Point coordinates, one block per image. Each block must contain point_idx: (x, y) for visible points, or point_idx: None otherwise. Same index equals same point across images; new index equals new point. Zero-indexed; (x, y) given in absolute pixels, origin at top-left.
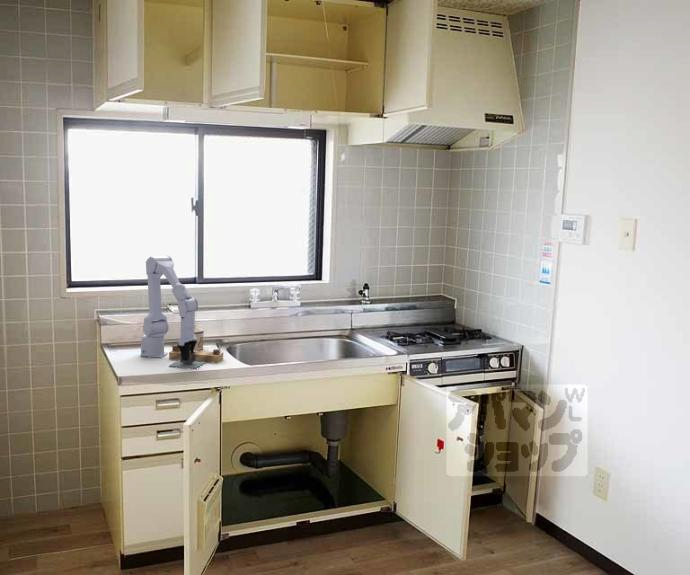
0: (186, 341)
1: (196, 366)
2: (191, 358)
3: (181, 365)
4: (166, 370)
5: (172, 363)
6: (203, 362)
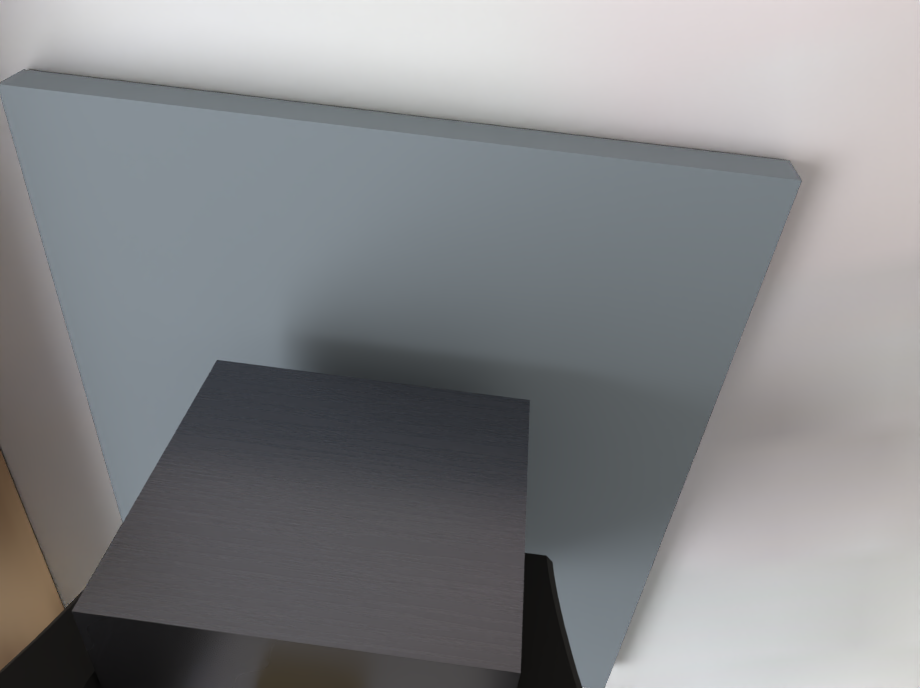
0: None
1: (622, 221)
2: (521, 523)
3: (562, 539)
4: (865, 667)
5: None
6: (59, 121)
